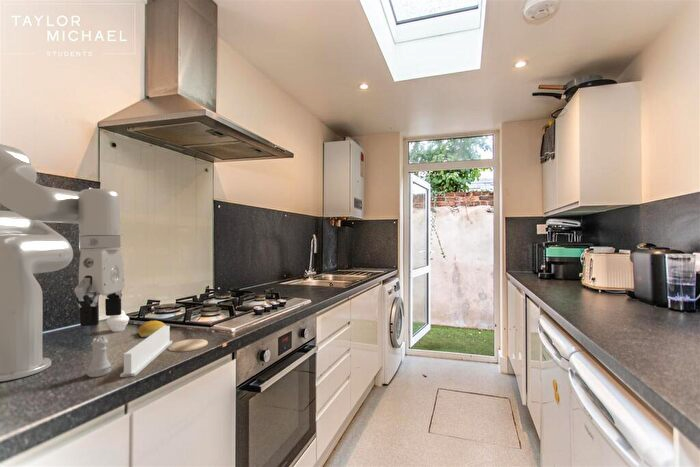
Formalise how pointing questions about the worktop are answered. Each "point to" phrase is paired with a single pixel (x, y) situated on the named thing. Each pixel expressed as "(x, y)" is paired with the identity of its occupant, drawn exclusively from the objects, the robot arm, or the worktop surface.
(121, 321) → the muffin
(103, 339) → the rook chess piece
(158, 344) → the divider wall
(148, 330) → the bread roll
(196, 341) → the cork coaster
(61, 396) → the worktop surface
